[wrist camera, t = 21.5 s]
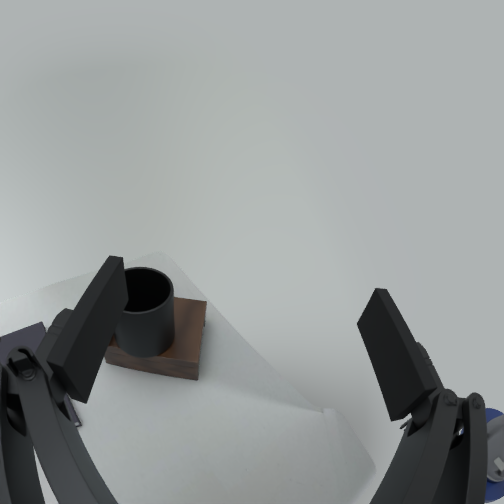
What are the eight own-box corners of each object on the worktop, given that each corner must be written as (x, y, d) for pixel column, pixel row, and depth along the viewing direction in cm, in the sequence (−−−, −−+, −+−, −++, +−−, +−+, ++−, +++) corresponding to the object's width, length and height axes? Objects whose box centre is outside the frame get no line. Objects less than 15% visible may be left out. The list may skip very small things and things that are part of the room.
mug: (185, 308, 44) (186, 263, 39) (165, 366, 33) (160, 321, 29) (133, 296, 43) (129, 252, 39) (104, 348, 33) (90, 302, 28)
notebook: (81, 425, 26) (44, 327, 37) (78, 421, 25) (42, 321, 36) (17, 449, 17) (-7, 346, 29) (11, 445, 16) (-10, 340, 28)
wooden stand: (205, 321, 49) (207, 292, 45) (197, 380, 38) (198, 354, 34) (128, 309, 47) (123, 280, 43) (106, 363, 36) (96, 335, 32)
